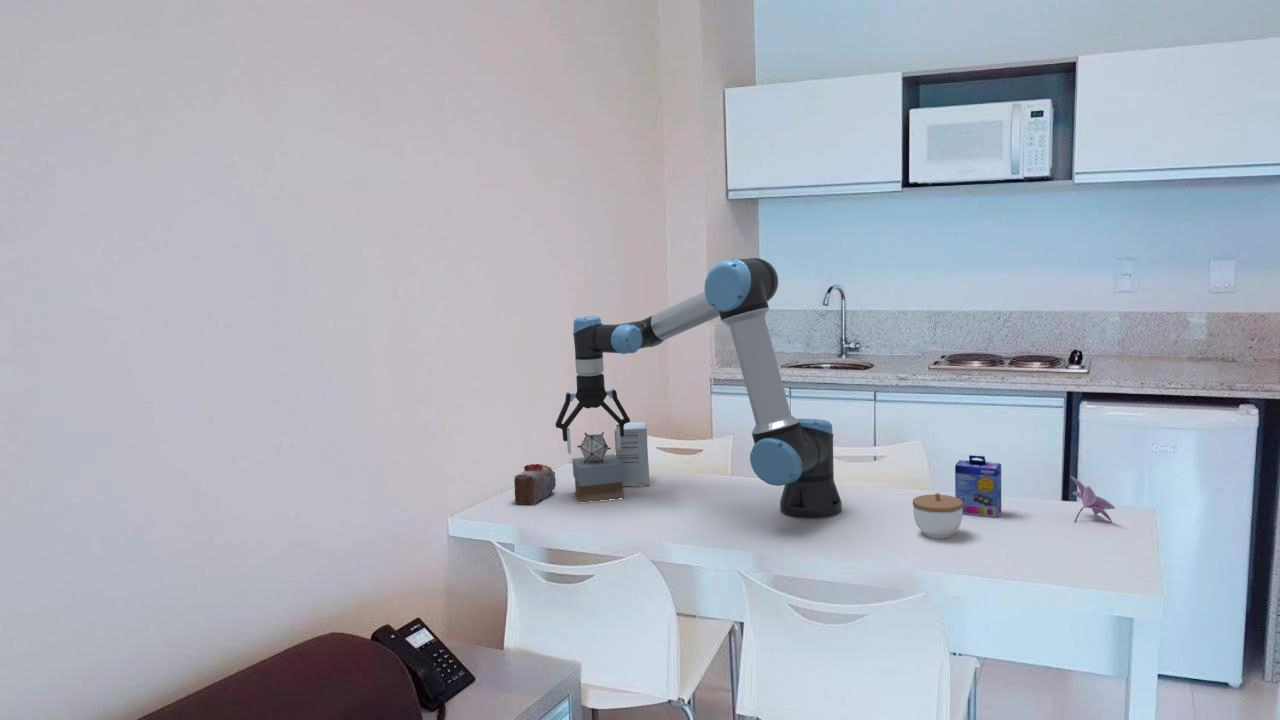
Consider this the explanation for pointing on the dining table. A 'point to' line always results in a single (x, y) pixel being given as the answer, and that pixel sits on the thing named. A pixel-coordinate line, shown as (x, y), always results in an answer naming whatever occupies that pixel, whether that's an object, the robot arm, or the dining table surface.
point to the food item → (534, 484)
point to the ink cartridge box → (978, 486)
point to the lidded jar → (937, 515)
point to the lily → (1091, 500)
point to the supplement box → (634, 454)
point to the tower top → (598, 471)
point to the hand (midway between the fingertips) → (594, 450)
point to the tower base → (599, 492)
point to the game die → (594, 447)
